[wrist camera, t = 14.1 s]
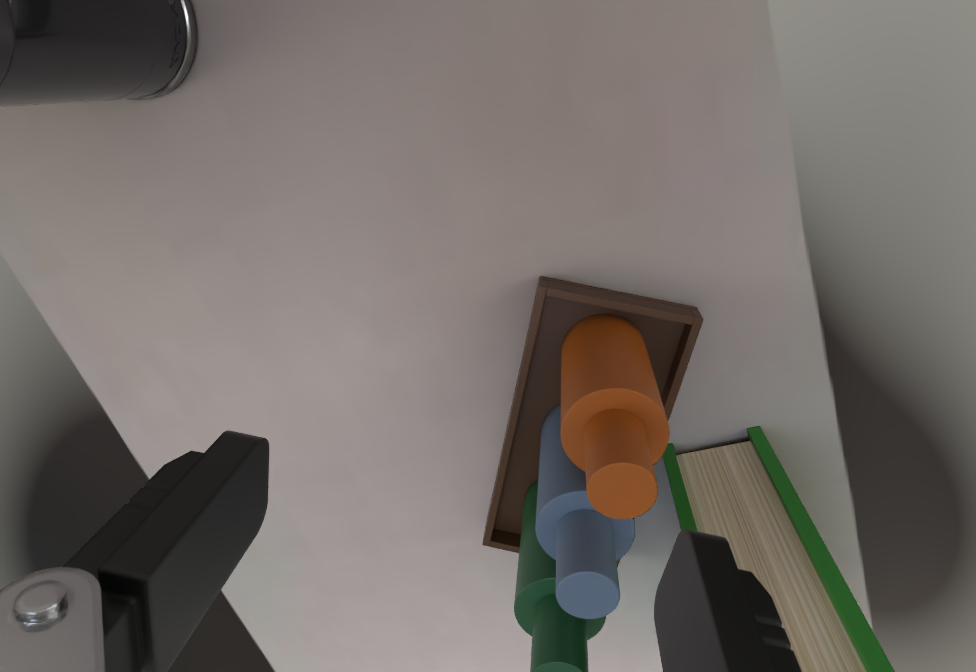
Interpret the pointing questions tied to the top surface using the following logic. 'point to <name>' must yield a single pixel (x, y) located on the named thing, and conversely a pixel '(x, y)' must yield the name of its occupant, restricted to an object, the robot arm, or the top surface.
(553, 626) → the green bottle
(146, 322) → the top surface
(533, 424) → the tray
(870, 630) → the hardback book
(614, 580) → the slate bottle
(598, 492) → the amber bottle
